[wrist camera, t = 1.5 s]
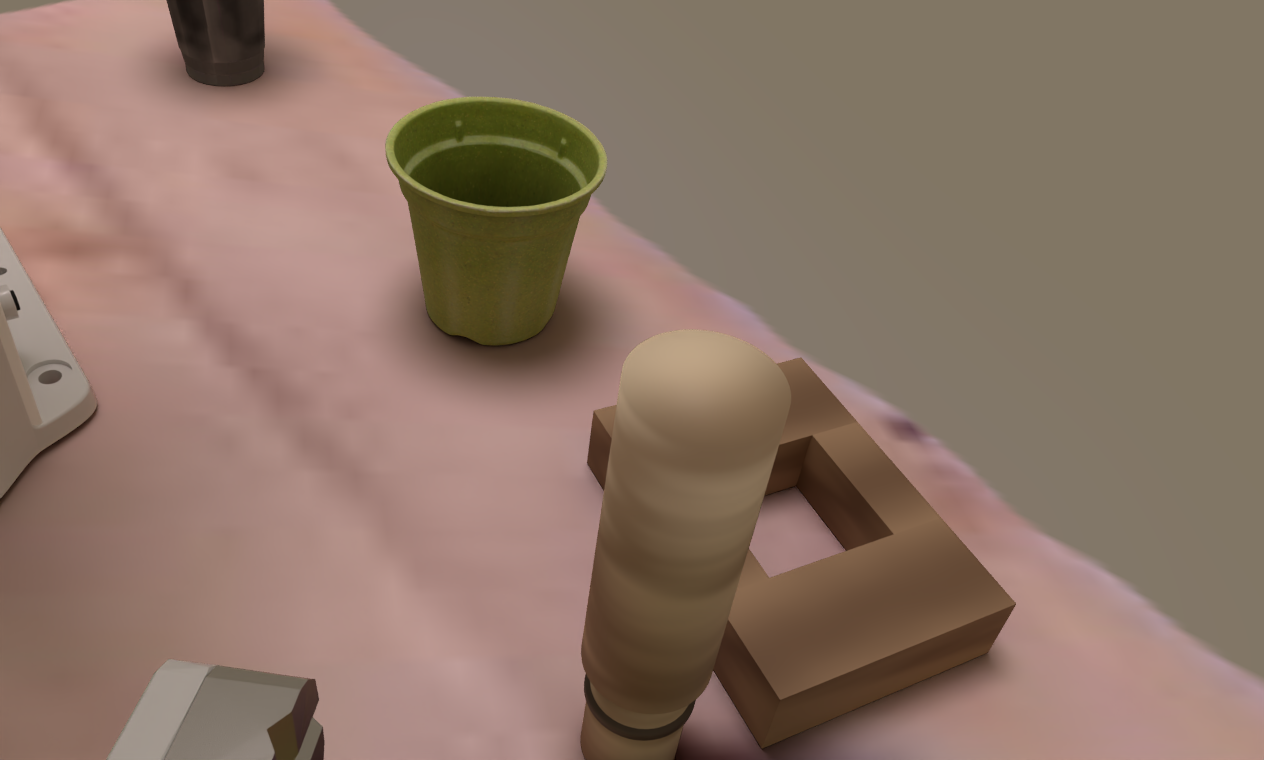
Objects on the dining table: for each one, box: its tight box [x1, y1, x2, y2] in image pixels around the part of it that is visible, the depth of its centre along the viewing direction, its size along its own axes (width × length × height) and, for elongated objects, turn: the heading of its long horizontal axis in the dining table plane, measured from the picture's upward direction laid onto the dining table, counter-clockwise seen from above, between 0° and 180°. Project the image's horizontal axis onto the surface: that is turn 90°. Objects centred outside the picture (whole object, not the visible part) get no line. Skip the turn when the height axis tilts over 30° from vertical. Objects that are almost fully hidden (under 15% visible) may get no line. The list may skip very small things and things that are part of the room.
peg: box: [581, 330, 791, 760], centre depth 30 cm, size 4×4×16 cm
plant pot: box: [385, 97, 607, 345], centre depth 49 cm, size 9×9×9 cm
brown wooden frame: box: [587, 358, 1016, 749], centre depth 41 cm, size 14×10×3 cm
